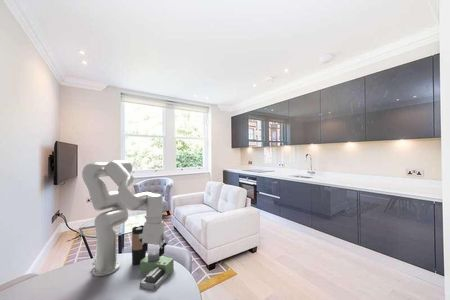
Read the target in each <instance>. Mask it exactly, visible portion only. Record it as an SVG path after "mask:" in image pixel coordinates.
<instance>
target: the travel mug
mask: <svg viewBox="0 0 450 300" xmlns="http://www.w3.org/2000/svg"><path fill="white" fill-rule="evenodd" d="M143 227H144V224H143V225H140V226H134V227H132V229H131V263H132V265H133V266H140V261H141V260H142V259H144V258H145V257H146V256H147V254H146V252H147V251H146V252H145V253H142V245H141V242H140V239H139V236H138V235H139V234H141V233H143Z"/></svg>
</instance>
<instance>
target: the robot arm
mask: <svg viewBox="0 0 450 300" xmlns="http://www.w3.org/2000/svg"><path fill="white" fill-rule="evenodd" d="M132 171H133V165H132V163H131V162H130V161H128V160H112V161H107V162H106V161H105V162H104V161H103V162H102V161H99V162H98V161H97V162H91V163H87V164H86V165H85V166H84V167H83V168H82V172H81V174H82V175H81V177H82V180H83V183H84V184H85V186H86V188H87V190H88V193H89V196H90V201H91V203H92V207H93V209H94V210H95V211H97V212H99V211H104V212H102V213H101V212H100V213H99V214H98V215H96V217H95V218H94V222H93V223H94V228H95V234H96V242H95V243H96V251H95V254H96V255H95V257H96V258H95V259H94V261H93V262H92V263H91V265H92V266H94V269H93V270H92V275H93V276H94V277H106V276H109V275H111V274H113V273H115V272H116V271H117V270H118V269H120V265H121V264H120V262H118V261H117V252H118V250H117V249H118V248H117V245H118V244H117V243H118V240H117V239H118V236H117V232H116V231H115V229H114V228H115V227H117V226H120V225H122V224H124V223H126V222H127V221H128V220H129V219H128V218H129V212H128V210H130V211H137V210H140V209H143V208H146V210H145V211H146V215H145V216H144V219H145V221H144V224H143V226H144V227H143V233H141V234H139V235H138V236H139V239H140V242H141V245H142V253H145V252H148V251H149V250H148V248H149V245H155V246H159V249H158V251H159V257H163V256H164V254H165V247H166V246H167V245H168V243H169V241H170V238H169V237H167V236H166V235H165V227H164V226H165V225H164V221H163V202H164V201H163V199H164V198H163V195H162V194H161V193H153V192H150V191H145V192H140V193H136V194H134V193H133V192H131V190H130V189H129V187H130V186H131V185H132V183H133V182H134V180H135V177H134V176H133V174H131V173H132ZM101 177H102V178H103V177H109V178H110V179H111V180H112V181H113V183H114V184H115V185H116V186H117V187H118V188H117V189H118V190H112V191H109V190H108V188H107V184H106V183H105V182H104V181H103V180H102V179H101ZM108 209H110V210H108ZM105 210H107V211H105Z"/></svg>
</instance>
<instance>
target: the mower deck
mask: <svg viewBox="0 0 450 300" xmlns="http://www.w3.org/2000/svg"><path fill="white" fill-rule="evenodd" d="M157 267H159V268H160V269H162V277H161V278H160V279H159V280H158V281H157V282H156V283H155V284H154V283H149V282H146V276H145V277H144V278H143V279H142V280H141V281H140V282H139V287H141V288H145V289H148V290H154V291H155V290H157V289H158V287H159V286H161V285H162V283H163V282H164V281H165V280H166V279H167V278H168V276H170V274H171V273H173V271H174V258H173V257H168V256H161V257H159V250H153V251H150V252H149V253H147V255H146V257H145V258H144V259H142V260H141V261H140V265H139V273H141V274H146V275H147V274H149V273H150V272H151V271H152V270H153V269H154V268H157Z"/></svg>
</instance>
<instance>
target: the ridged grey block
mask: <svg viewBox="0 0 450 300" xmlns="http://www.w3.org/2000/svg"><path fill="white" fill-rule="evenodd" d="M145 277H146V282H149V283H154V284H155V283H156V282H157V281H158V280H159V279H160V278H161V277H162V269H160V268H159V267H157V268H154V269H153V270H152V271H151V272H150V273H149V274H146V275H145Z"/></svg>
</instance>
